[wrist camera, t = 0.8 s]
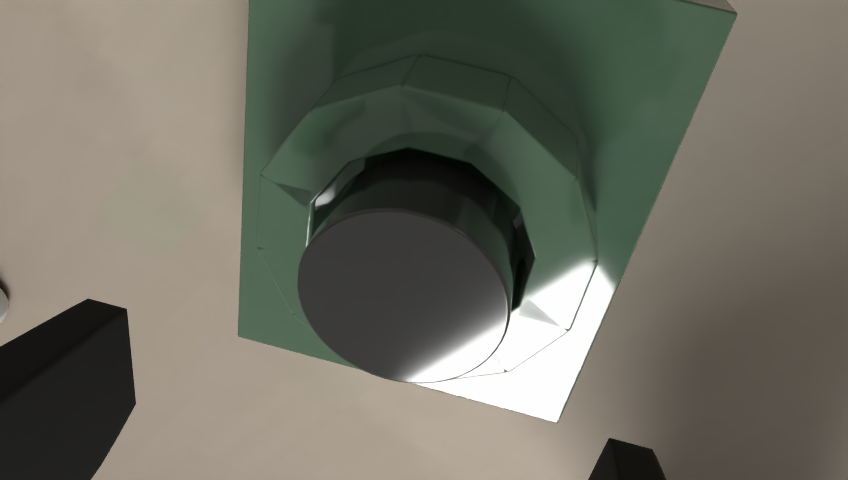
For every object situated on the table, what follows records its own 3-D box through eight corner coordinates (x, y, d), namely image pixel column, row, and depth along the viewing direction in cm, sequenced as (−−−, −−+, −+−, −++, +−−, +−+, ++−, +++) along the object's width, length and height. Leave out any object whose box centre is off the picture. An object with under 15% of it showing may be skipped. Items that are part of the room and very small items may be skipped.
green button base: (560, 344, 21) (556, 479, 17) (279, 270, 21) (207, 383, 17) (709, -25, 15) (762, 42, 10) (308, -118, 15) (207, -89, 11)
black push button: (492, 338, 15) (482, 406, 13) (320, 293, 15) (289, 354, 14) (542, 185, 13) (537, 243, 11) (339, 134, 13) (304, 183, 11)
